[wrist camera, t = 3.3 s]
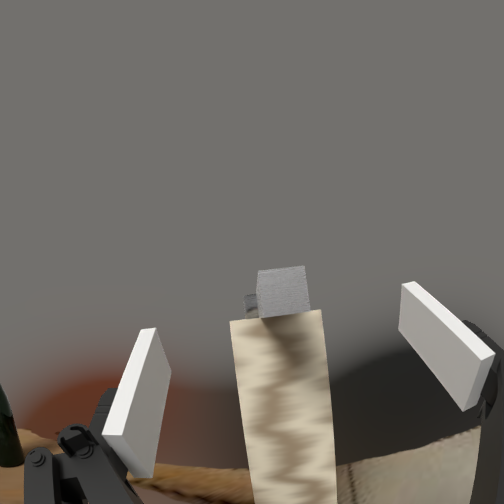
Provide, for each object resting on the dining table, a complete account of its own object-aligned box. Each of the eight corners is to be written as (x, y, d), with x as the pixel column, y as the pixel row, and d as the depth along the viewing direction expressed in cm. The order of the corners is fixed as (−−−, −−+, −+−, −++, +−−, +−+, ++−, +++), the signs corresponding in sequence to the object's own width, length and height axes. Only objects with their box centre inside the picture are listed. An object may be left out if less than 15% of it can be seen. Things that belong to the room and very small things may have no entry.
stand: (317, 503, 40) (298, 312, 46) (337, 558, 24) (320, 309, 31) (263, 511, 39) (237, 320, 46) (266, 570, 24) (229, 321, 31)
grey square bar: (291, 313, 45) (287, 281, 46) (336, 307, 20) (325, 238, 21) (246, 319, 45) (242, 287, 46) (237, 320, 20) (229, 249, 21)
